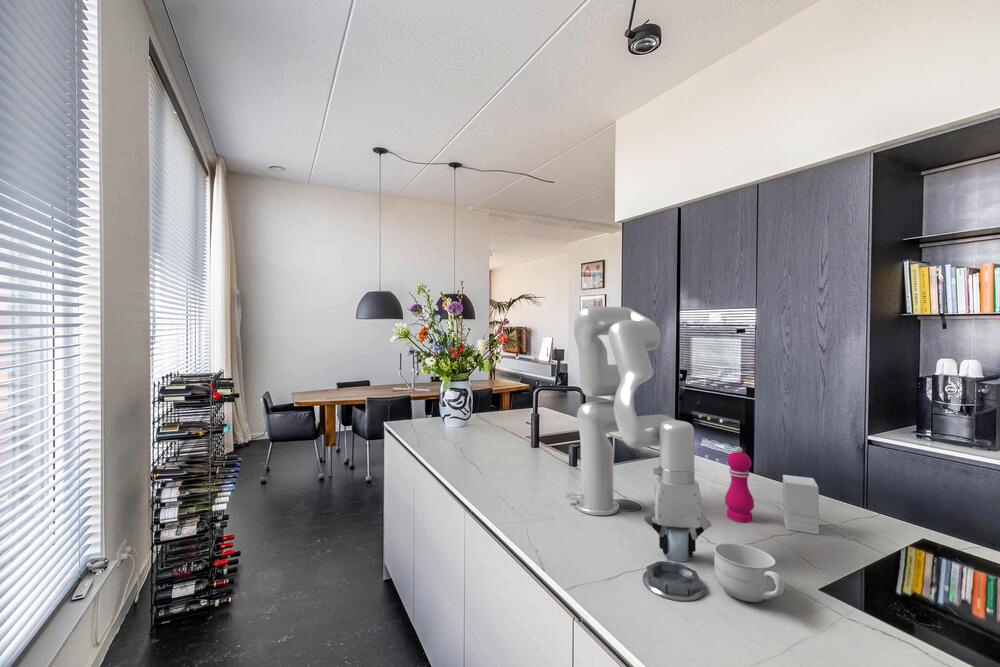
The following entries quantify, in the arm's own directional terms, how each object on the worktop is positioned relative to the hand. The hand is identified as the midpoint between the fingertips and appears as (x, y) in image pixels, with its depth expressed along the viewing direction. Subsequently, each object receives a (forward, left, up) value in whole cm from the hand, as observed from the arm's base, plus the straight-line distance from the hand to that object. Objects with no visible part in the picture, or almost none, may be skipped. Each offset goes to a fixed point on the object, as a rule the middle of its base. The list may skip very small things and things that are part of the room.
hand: (677, 552), depth 103 cm
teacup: (+11, -14, -1) cm, 18 cm away
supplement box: (+35, +23, -1) cm, 42 cm away
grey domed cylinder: (0, 0, -1) cm, 1 cm away
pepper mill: (+21, +26, -1) cm, 33 cm away
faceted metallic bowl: (-3, -12, -1) cm, 12 cm away
